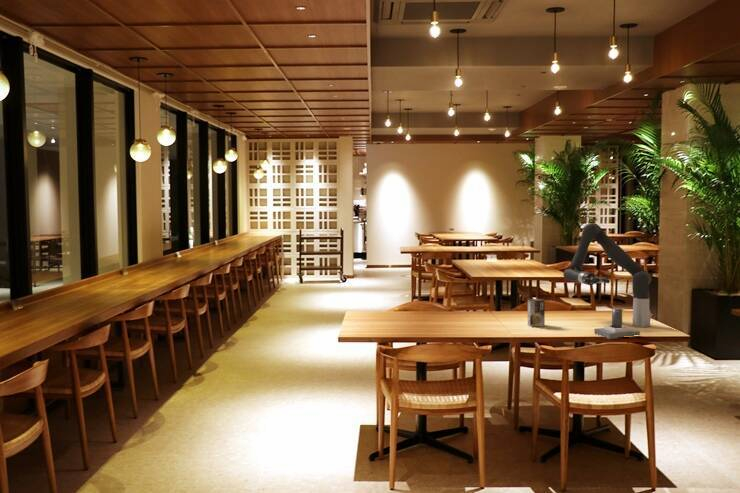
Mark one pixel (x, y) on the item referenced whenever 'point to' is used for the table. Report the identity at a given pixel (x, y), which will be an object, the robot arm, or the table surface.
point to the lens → (616, 318)
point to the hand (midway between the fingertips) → (602, 281)
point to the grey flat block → (615, 332)
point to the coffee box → (536, 312)
